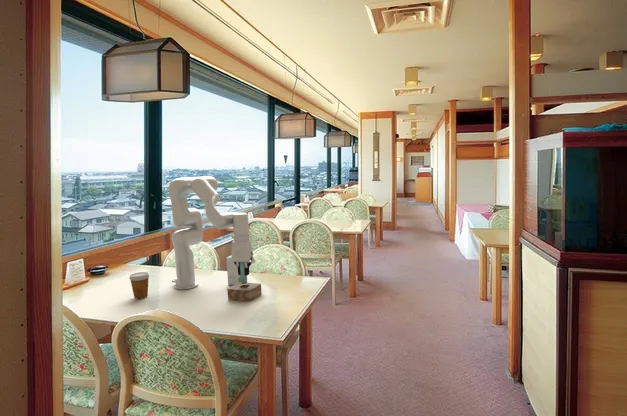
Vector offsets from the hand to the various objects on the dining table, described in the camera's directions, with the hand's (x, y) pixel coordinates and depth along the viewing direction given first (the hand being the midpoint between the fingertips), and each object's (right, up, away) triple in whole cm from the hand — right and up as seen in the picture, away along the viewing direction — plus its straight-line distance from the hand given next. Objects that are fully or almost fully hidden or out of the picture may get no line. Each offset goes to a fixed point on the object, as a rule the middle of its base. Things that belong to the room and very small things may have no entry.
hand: (243, 274), depth 206 cm
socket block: (0, -11, +1) cm, 11 cm away
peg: (0, -4, 0) cm, 4 cm away
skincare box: (-9, -9, +26) cm, 29 cm away
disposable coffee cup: (-54, -13, +8) cm, 56 cm away
